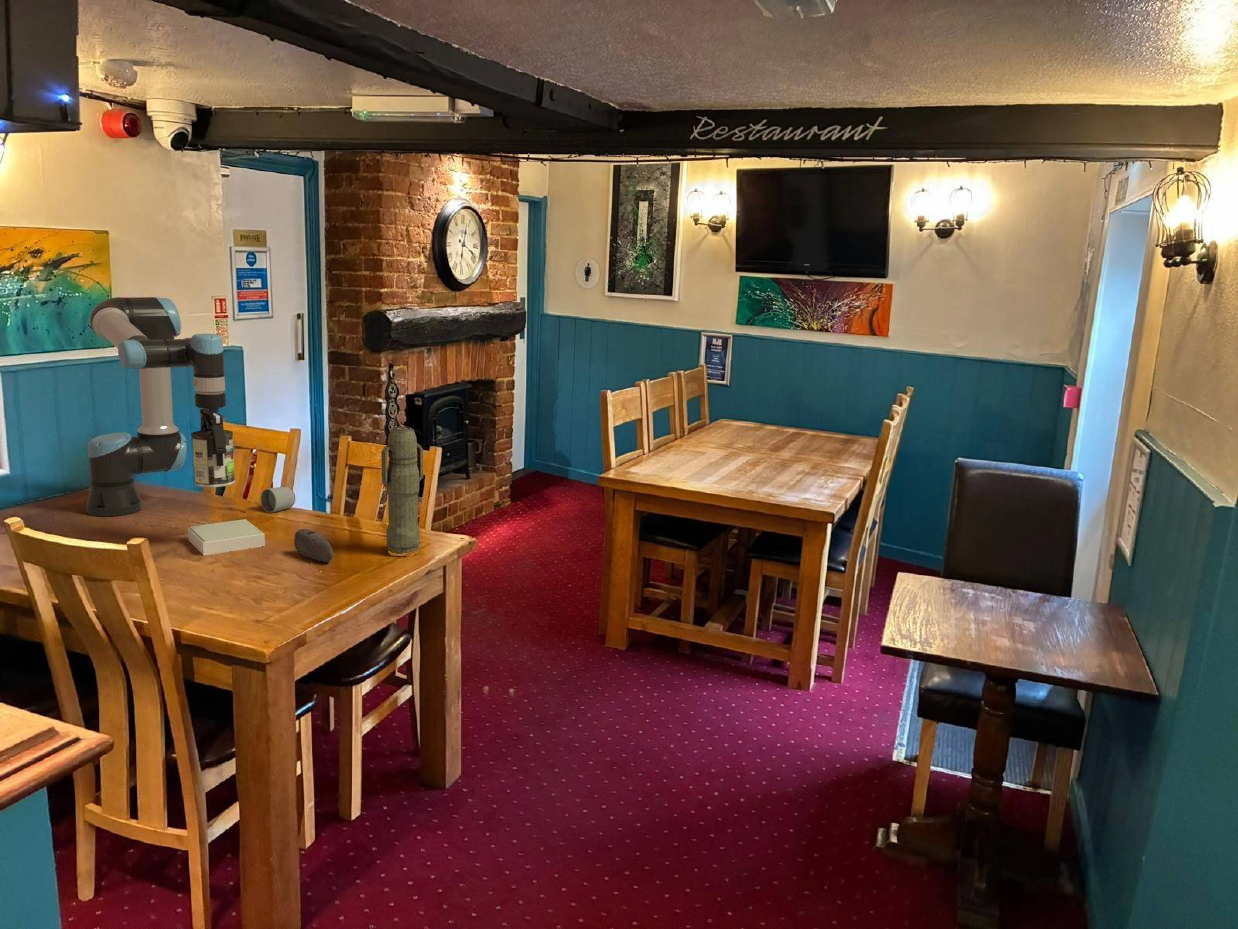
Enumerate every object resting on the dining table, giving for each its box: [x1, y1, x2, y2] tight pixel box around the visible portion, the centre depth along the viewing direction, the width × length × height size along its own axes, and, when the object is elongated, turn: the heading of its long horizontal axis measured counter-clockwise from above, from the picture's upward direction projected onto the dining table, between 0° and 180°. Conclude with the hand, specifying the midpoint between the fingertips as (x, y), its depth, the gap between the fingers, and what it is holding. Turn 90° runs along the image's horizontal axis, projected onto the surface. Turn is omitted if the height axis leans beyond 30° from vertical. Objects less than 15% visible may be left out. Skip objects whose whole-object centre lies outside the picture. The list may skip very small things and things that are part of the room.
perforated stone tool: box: [293, 528, 334, 563], centre depth 243 cm, size 15×5×7 cm, turn 48°
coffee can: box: [190, 429, 236, 488], centre depth 247 cm, size 10×10×14 cm
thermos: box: [381, 426, 424, 554], centre depth 248 cm, size 9×12×35 cm
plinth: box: [187, 518, 266, 556], centre depth 252 cm, size 16×16×4 cm
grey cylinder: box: [260, 486, 296, 514], centre depth 287 cm, size 11×8×8 cm
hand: (214, 473), depth 247 cm, fingers closed on coffee can, 10 cm apart
